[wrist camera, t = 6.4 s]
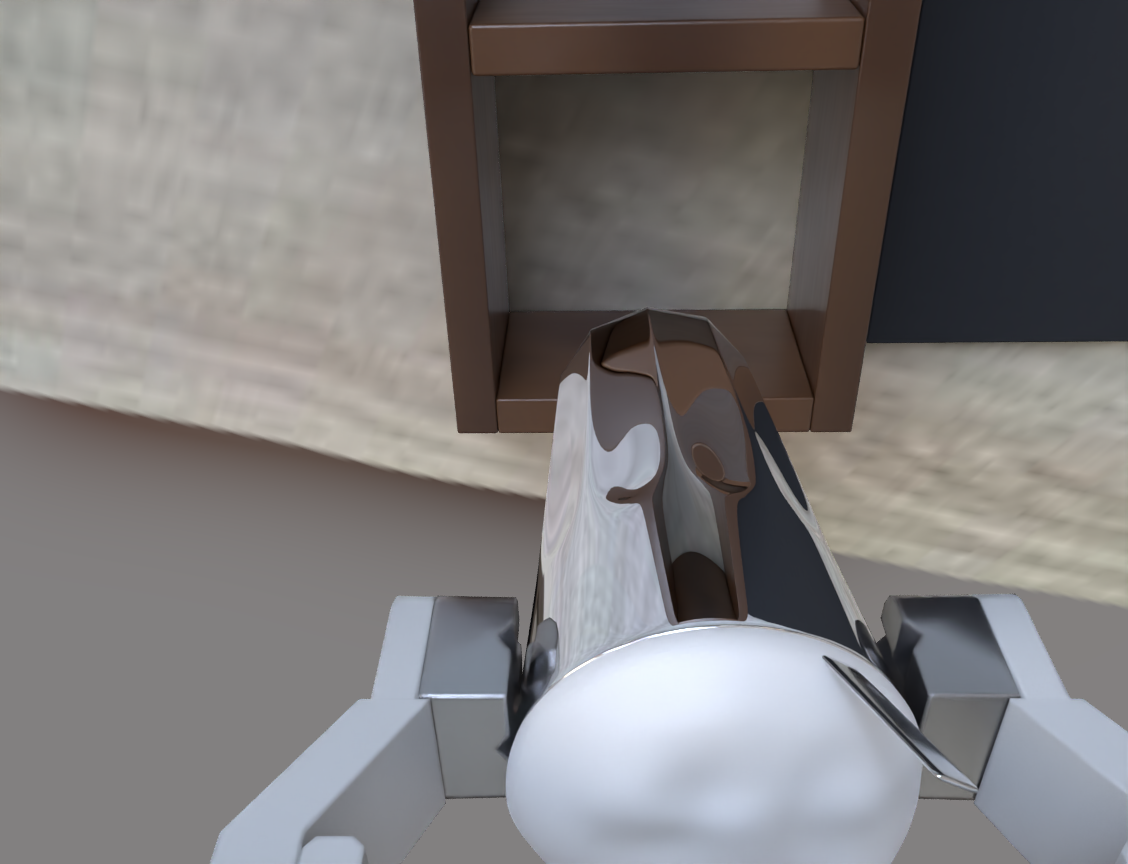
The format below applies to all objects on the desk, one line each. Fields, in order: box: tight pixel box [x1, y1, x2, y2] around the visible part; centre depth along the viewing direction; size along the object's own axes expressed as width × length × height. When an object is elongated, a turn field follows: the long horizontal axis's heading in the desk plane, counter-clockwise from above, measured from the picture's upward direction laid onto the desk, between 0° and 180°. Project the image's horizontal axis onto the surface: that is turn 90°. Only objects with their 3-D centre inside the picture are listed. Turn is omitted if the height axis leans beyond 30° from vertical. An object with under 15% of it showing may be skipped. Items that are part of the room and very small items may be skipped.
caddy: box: [413, 0, 922, 433], centre depth 22 cm, size 10×18×4 cm, turn 2°
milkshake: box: [506, 307, 979, 864], centre depth 14 cm, size 4×5×10 cm
